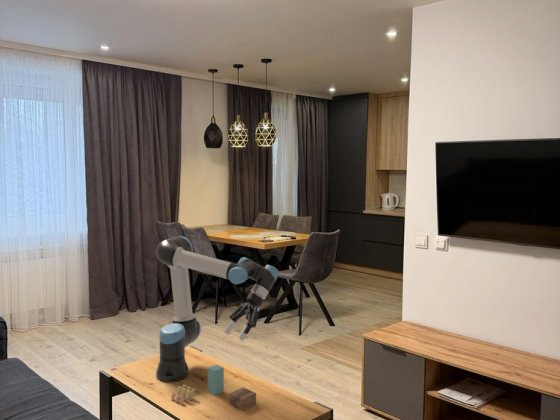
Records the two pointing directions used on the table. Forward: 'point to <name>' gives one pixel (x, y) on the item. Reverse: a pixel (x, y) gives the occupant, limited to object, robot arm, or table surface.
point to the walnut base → (242, 398)
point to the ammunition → (183, 394)
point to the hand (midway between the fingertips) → (233, 336)
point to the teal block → (215, 379)
